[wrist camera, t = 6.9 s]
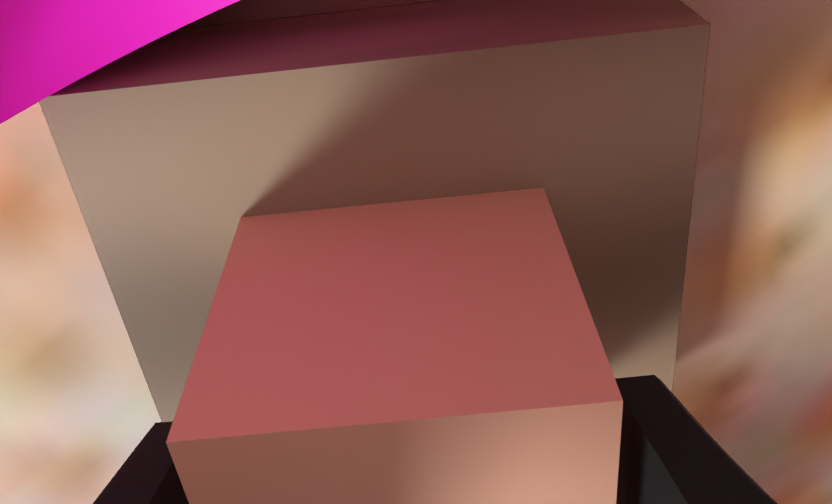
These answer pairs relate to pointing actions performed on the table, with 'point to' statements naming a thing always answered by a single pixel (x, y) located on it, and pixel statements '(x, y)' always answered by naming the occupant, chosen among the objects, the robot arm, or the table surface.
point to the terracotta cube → (400, 362)
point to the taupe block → (394, 148)
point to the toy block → (78, 40)
